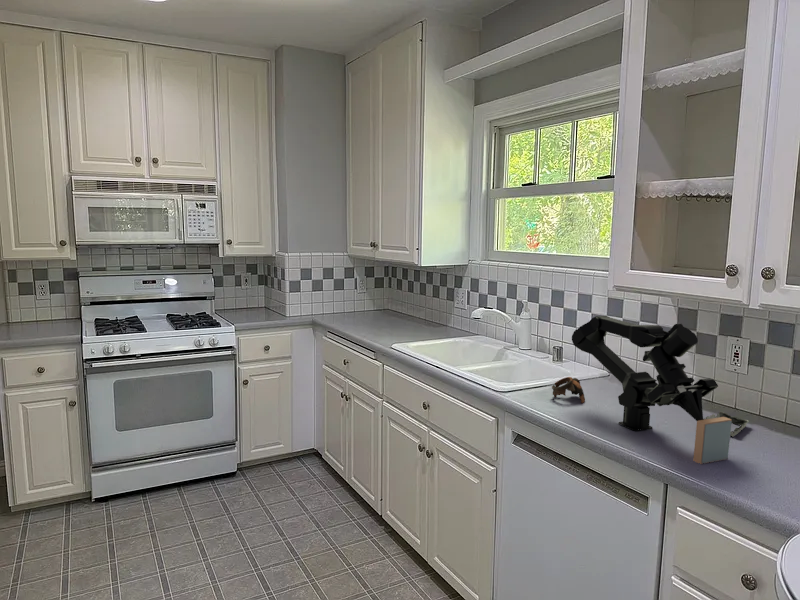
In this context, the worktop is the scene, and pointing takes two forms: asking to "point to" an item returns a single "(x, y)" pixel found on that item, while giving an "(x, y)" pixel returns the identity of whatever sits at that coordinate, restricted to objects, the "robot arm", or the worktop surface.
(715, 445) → the flat brown rectangular block
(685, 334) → the robot arm
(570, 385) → the brown arched part
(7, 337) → the worktop surface
